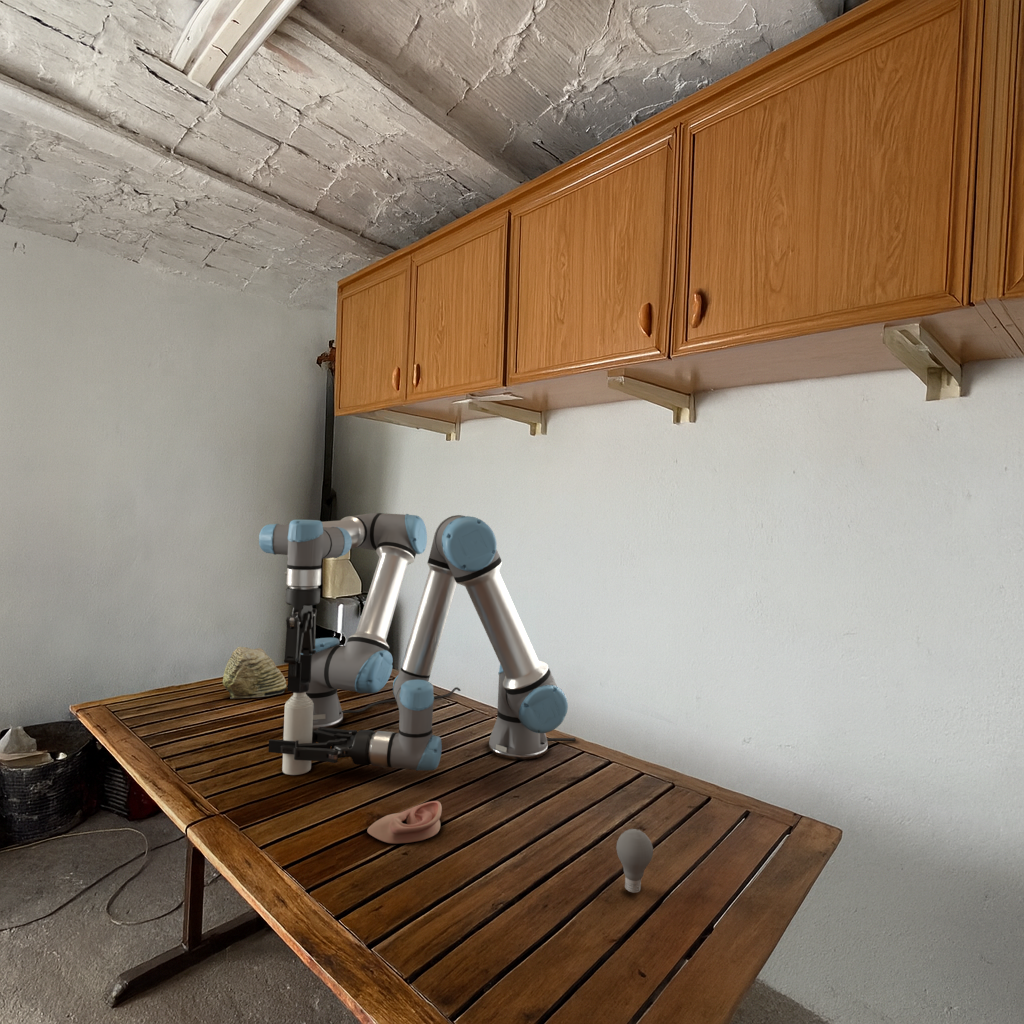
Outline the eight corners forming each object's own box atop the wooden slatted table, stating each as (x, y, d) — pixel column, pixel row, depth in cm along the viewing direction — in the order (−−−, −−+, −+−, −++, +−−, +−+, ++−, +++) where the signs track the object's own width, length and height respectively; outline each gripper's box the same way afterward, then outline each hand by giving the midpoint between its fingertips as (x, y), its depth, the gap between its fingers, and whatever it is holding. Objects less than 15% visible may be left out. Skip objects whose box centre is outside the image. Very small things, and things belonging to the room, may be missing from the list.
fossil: (218, 695, 195) (220, 647, 195) (278, 685, 208) (279, 640, 207) (228, 703, 189) (230, 653, 188) (289, 692, 201) (290, 645, 201)
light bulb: (610, 879, 108) (613, 822, 108) (644, 879, 109) (647, 822, 109) (619, 902, 102) (622, 840, 102) (655, 901, 103) (658, 840, 103)
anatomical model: (360, 817, 118) (385, 790, 129) (359, 839, 118) (384, 809, 129) (428, 828, 115) (447, 799, 126) (427, 850, 115) (446, 819, 126)
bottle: (303, 776, 143) (306, 688, 143) (277, 773, 144) (280, 686, 144) (315, 764, 149) (319, 680, 149) (290, 762, 150) (293, 678, 150)
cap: (303, 693, 144) (304, 684, 144) (287, 692, 145) (287, 683, 144) (311, 688, 148) (312, 680, 148) (295, 687, 149) (296, 678, 148)
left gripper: (301, 581, 155) (297, 674, 156) (270, 591, 136) (266, 698, 136) (332, 582, 155) (328, 676, 156) (305, 593, 136) (300, 700, 136)
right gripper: (357, 783, 135) (255, 773, 137) (385, 748, 154) (294, 740, 157) (359, 748, 135) (256, 739, 137) (386, 717, 154) (295, 710, 157)
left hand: (299, 686), depth 146 cm, fingers open, 6 cm apart
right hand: (276, 739), depth 147 cm, fingers closed on bottle, 6 cm apart
